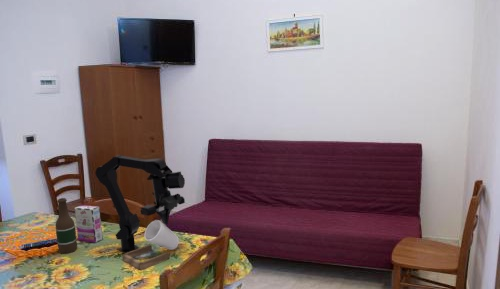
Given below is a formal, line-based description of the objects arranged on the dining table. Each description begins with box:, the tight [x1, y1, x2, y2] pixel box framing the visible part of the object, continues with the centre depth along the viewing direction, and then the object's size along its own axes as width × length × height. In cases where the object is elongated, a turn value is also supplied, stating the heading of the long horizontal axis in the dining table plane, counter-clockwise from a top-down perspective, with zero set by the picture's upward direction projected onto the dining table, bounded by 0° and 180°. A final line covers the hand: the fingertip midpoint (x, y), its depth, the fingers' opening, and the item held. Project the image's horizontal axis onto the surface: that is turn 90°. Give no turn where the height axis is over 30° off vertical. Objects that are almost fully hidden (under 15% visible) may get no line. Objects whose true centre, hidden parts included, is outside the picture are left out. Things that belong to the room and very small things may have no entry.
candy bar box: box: [74, 204, 104, 244], centre depth 186 cm, size 11×5×16 cm, turn 68°
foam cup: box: [143, 219, 180, 251], centre depth 167 cm, size 10×9×13 cm
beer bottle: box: [55, 197, 78, 255], centre depth 174 cm, size 8×8×24 cm
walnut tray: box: [121, 243, 170, 271], centre depth 163 cm, size 14×13×2 cm
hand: (166, 224), depth 167 cm, fingers closed
